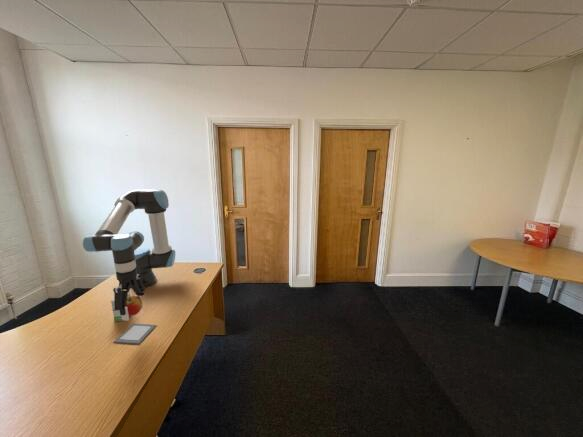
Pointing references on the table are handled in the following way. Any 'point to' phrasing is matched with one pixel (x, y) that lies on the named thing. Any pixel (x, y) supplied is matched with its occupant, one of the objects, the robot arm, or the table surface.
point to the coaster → (135, 334)
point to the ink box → (117, 311)
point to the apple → (133, 305)
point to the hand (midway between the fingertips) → (133, 313)
